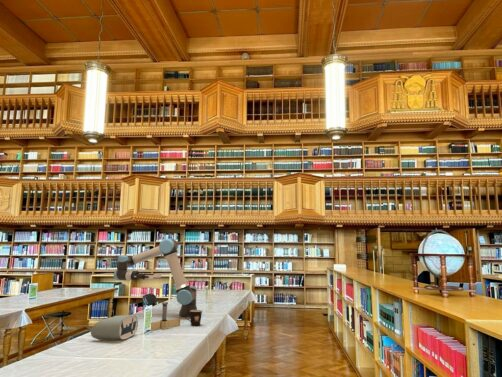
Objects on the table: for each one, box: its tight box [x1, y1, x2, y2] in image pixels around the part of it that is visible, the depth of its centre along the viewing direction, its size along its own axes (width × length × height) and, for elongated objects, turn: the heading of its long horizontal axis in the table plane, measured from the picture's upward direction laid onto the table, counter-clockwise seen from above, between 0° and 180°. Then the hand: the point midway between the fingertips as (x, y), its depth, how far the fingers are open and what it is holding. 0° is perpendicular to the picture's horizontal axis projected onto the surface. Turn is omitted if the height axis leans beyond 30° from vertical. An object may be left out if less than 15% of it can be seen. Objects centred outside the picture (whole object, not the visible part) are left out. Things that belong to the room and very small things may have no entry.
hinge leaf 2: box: [159, 317, 181, 330], centre depth 262 cm, size 16×6×5 cm, turn 137°
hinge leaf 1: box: [150, 320, 169, 331], centre depth 254 cm, size 16×6×5 cm, turn 137°
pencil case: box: [90, 314, 139, 341], centre depth 230 cm, size 22×19×13 cm
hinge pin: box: [161, 301, 169, 327], centre depth 259 cm, size 4×4×17 cm
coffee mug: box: [184, 309, 203, 327], centre depth 270 cm, size 12×9×10 cm
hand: (157, 276), depth 295 cm, fingers open, 13 cm apart
